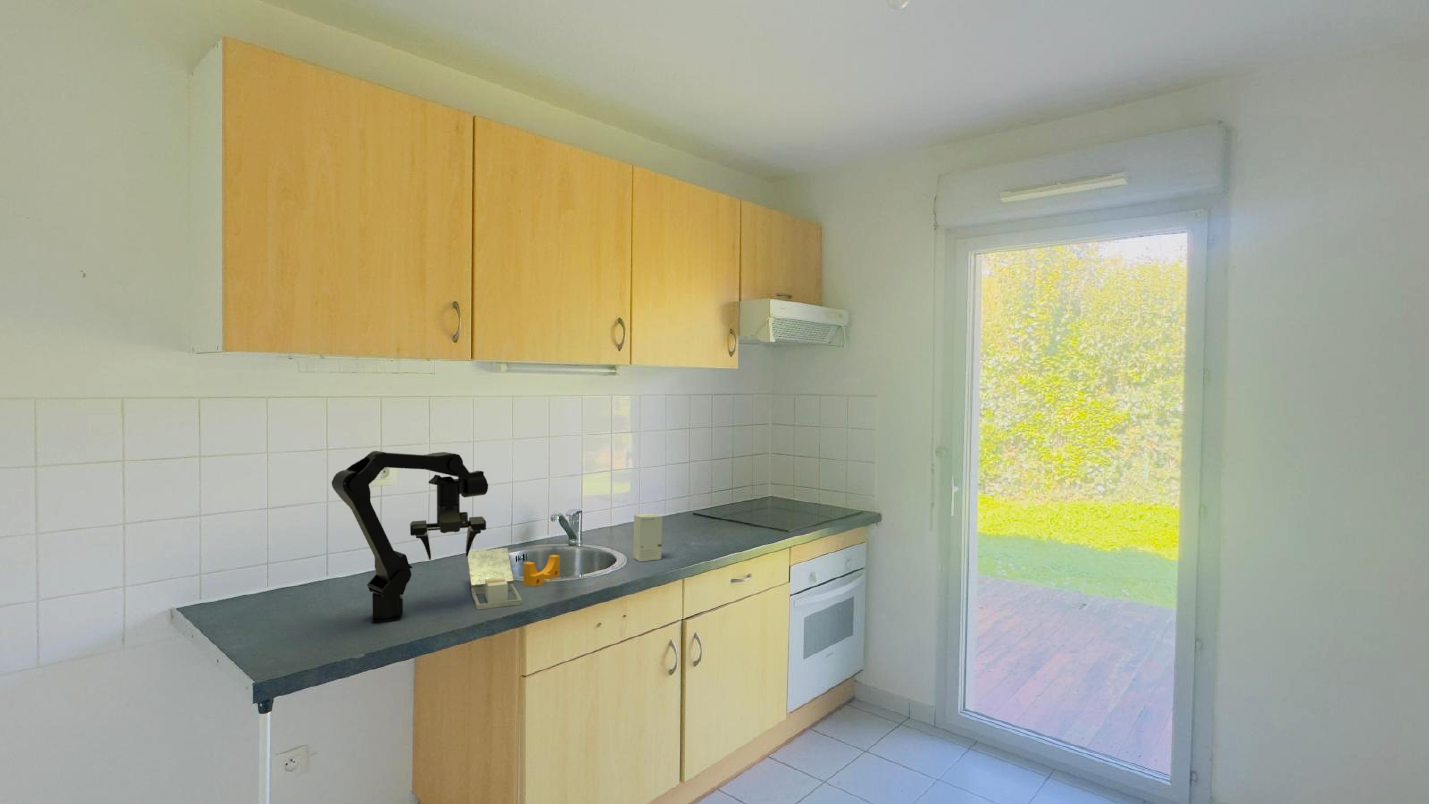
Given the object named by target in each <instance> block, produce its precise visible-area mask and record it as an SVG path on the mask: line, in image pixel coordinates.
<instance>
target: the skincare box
mask: <svg viewBox="0 0 1429 804" xmlns="http://www.w3.org/2000/svg"><path fill="white" fill-rule="evenodd" d="M662 535H663V515H661V514H658V513H640V514H638V513H637V514H634V515H633V553H632V554H633V556H632V557H633V559H635V560H636V561H637V562H639V563H641V562H649V561H656V560H657V561H658V560H661V559H662V547H663V546H662V543H663V542H662V539H663V536H662Z"/></svg>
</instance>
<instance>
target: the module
mask: <svg viewBox="0 0 1429 804" xmlns="http://www.w3.org/2000/svg"><path fill="white" fill-rule="evenodd" d="M508 595H509V594H508V584H507V582H506V580H505V578H504V577H501V578H491V579H485V593H484V597H485V600H486V602H487V603H492V602H500V601H509V600H508V597H509V596H508Z"/></svg>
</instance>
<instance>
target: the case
mask: <svg viewBox="0 0 1429 804" xmlns="http://www.w3.org/2000/svg"><path fill="white" fill-rule="evenodd" d="M508 551H509V550H508V548H507V547H502V548H493V549H492V548H491V549H490V548H489V549H480V550H479V549H478V550H470V551H469V554H468V556H466V557H467V563H468V564H467V565H468V572H469V579H470V580H469V581H470V587H471V590H470V591H471V597H472V600H473V603H474V604H475V605H474V606H475V609H476V610H477V611H478V610H484V609H485V610H486V609H493V608H502V607H509V606H517V605H518V606H519V605H522V604H523V600H522V598H521V595H520V594H519V592H518V591H517V589H516V587H515V581H514V576H513V572H512V567H511V561H510V556H509V552H508ZM501 577H504V578H505V580H506V582H507V584H508V591H511V592H512V595H513V596H514V598H515V599H509V600H508V601H500V602H492V603H488V602H487V603H485V602H484V603H480V601H479V599H478V596H477V595H481V594H482V595H484V594H485V579H491V578H501Z"/></svg>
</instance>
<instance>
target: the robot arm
mask: <svg viewBox="0 0 1429 804" xmlns="http://www.w3.org/2000/svg"><path fill="white" fill-rule="evenodd" d="M385 468H388V469H389V468H390V469H391V468H392V469H393V468H394V469H407V470H408V469H411V470H426V471H430V472H433V473H434V472H435V473H438V474H434V476H433V477H432V478H431V479H430V480H428V484H430V485H434V486H436V522H434V523H432V522H431V523H427V520H412V521H411V522H410V523H409V531H410V532H409V534H410V536H413V537H415V538H416V539H420V540H421V542H422V544H423V547H424V549H425V551H426V555H427V559H428V560H429V561H430V560H431V559H432V553H431V546H430V540H429V539H430V538H429V533H428V532H429V531H440V533H441V534H447V533H458V532H461V529H466V528H467V532H466V541H465V557H467V556H468V554H469V551H471V548H472V545H473V542H474V539H475V538H476V536H477V535H478V534H481V533H482V531H486V530H487V521H486V519H485V518H484V517H483V516H469V515H468V513H469V512H468V511H461V510H460V508H461V507H460V506H461V505H460V504H461V500H460V497H463V498H472V497H478V496H485V495H486V494H487V492H488V490H489V483H488V480H487V478H486V476H485V475H484V473H485V472H484V471H483V470H474V471H469V470H468V468H467V467H466V466H465V464H464V460H463V458H462V457H461V455H460V454H458V453H452V452H446V451H440V452H431V453H428V454H414V453H413V454H412V453H398V452H397V453H396V452H386V451H379V450H373V451H371V452H369V454H367V455H366V456H365V457H363V458H361V459H360V460H358V461H356V462H354V463H353V464H351V465H349V467H347V468H346V469H343V470H340V471H338V472H337V473H335V475H334V476H333V478H332V480H331V487H332V489H333V491H334V492H335V493H336V494H337V495H338V497H339V498H340V499H341V501H343V502H344V503H345V504H346V505H347V506H348V507H349V508H350V510H351V512H352V514H353V515H354V518H355V520H356V523H357V524H358V526H359V528H360V530H361V532H362V533H363V534H362V535H363V536H364V538H365V540H366V541H367V544H368V546H369V549H370V550H371V552H372V555H373V557H374V570H375V574H374V576H373V577H372V578H371V579H370V581H369V582H368V583H367V584H366V585H367V588H368V591H369V592H370V593H372V594H371V595H372V596H371V597H372V599H371V600H372V603H371V604H372V606H371V607H372V609H371V610H372V613H371V614H372V615H371V623H373V624H374V623H383V622H391V621H399V620H400V621H401V619H402V616H403V614H404V598H403V597H404V596H403V595H404V593H405V590H406V587H407V584H408V583H409V582H410V580H411V577H412V571H411V569H413V566H411V565H410V563H409V561H408V557H407V555H406V554H405V553H402V552H399V551H397V550H394V548H393V546H392V544H391V542H390V540H389V538H388V536H387V533H386V531H385V529H384V527H383V525H382V523H381V521H380V519H379V517H378V515H377V513H376V511H375V509H374V507H373V504H372V502H371V488H370V484H371V483H372V482H373V481H375V480H376V479H377V477H378V476H379V474H380V473H381V471H383V470H384V469H385ZM439 474H443V475H448V476H441V475H439ZM454 477H456V478H454ZM468 516H469V517H468Z"/></svg>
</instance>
